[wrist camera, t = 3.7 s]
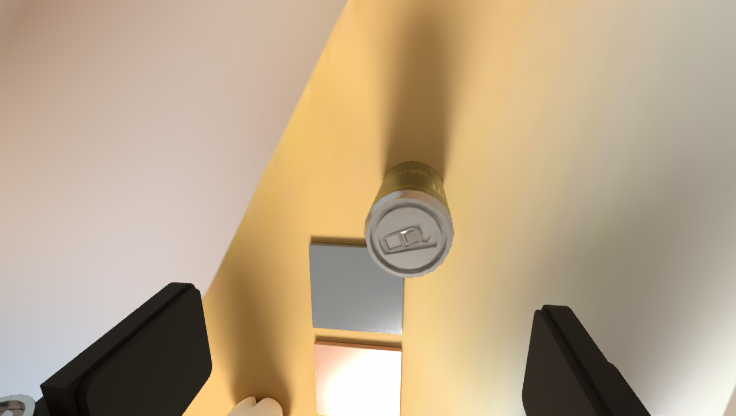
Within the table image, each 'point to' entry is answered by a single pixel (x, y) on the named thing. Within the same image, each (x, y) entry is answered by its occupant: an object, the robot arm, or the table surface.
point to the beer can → (409, 222)
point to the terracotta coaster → (357, 379)
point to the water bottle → (257, 408)
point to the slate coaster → (353, 290)
